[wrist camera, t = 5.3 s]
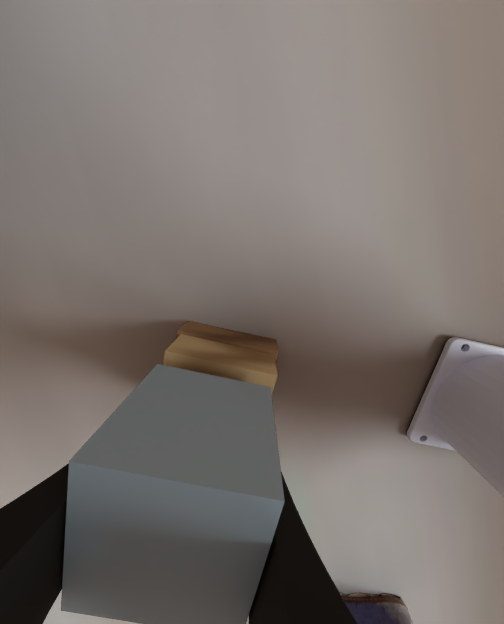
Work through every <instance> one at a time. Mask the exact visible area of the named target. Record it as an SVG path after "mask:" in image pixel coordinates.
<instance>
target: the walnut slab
mask: <svg viewBox="0 0 504 624" xmlns="http://www.w3.org/2000/svg"><path fill="white" fill-rule="evenodd" d="M180 334H184V335H188V336H193V337H197V338H202V339H206V340H211V341H215V342H220V343H224V344H229V345H233V346H237V347H242V348H246V349H251V350H255V351H260V352H264V353H269V354H273V355H274V359H275V364H276V362H277V358H278V354H279V350H278V346H277V342H276V340H275V339H270V338H266V337H261V336H256V335H252V334H247V333H243V332H238V331H233V330H229V329H224V328H219V327H215V326H210V325H205V324H201V323H196V322H191V321H187V322H186V323H185V324H184V325H183V326H182V327H180V328H179V329H178V331H177V337H176V339H177V338H178V337H179V336H180Z"/></svg>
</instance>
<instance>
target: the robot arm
mask: <svg viewBox="0 0 504 624" xmlns="http://www.w3.org/2000/svg"><path fill="white" fill-rule="evenodd" d="M463 345H464V347H463V348H462V349H461V347H462V346H463ZM421 436H422V437H421ZM407 437H408V438H409V439H410V440H411V441H412V442H415V443H420V444H425V445H430V446H435V447H440V448H445V449H450V450H455V451H457V452H458V453H459V454H460V455H461V456H462V457H463V458H464V459H465V460H466V461H467V462H468V463H469V464H470V465H471V466H472V467H473V468H474V469H475V470H476V471H477V472H478V473H479V474H480V475H481V476H483V477H484V478H485V479H486V480H487V481H488V482H489V483H490V484H491V485H492V486H493V487H494V488H495V489H496V490H497V491H498V492H499V493H500V494H501V495H502V496H503V497H504V348H503V347H499V346H494V345H490V344H485V343H481V342H476V341H472V340H467V339H463V338H458V337H453V338H450V339H449V340H448V341H447V342H446V344H445V347H444V349H443V351H442V354H441V356H440V358H439V360H438V363H437V365H436V367H435V370H434V372H433V374H432V376H431V379H430V381H429V383H428V386H427V388H426V390H425V392H424V395H423V397H422V399H421V402H420V404H419V406H418V408H417V411H416V413H415V415H414V417H413V420H412V422H411V424H410V427H409V429H408V431H407ZM68 471H69V464H67V465H66V466H64V467H63V468H62V469H60V470H59V471H57V472H56V473H55V474H53V475H52V476H50V477H49V478H47V479H46V480H44V481H43V482H41V483H40V484H38V485H37V486H35V487H34V488H32V489H30V490H29V491H27V492H26V493H24V494H23V495H21V496H20V497H18V498H17V499H15V500H14V501H12V502H10V503H9V504H7V505H6V506H4V507H2V508H1V509H0V624H43V622H44V620H45V618H46V616H47V614H48V612H49V610H50V609H51V607H52V605H53V603H54V602H55V600H56V598H57V596H58V595H59V593H60V591H61V589H62V581H63V563H64V545H65V526H66V508H67V490H68ZM281 476H282V484H283V492H284V500H285V502H284V505H283V508H282V511H281V515H280V518H279V521H278V524H277V527H276V530H275V534H274V537H273V540H272V543H271V546H270V549H269V552H268V556H267V559H266V562H265V565H264V568H263V571H262V574H261V578H260V581H259V584H258V587H257V590H256V593H255V596H254V600H253V603H252V606H251V609H250V612H249V624H358V623H357V622H356V620H355V618H354V617H353V615H352V613H351V612H350V610H349V608H348V606H347V605H346V603H345V601H344V600H343V598H342V596H341V595H340V593H339V591H338V589H337V588H336V586H335V584H334V582H333V581H332V579H331V577H330V575H329V573H328V572H327V570H326V568H325V566H324V564H323V562H322V560H321V559H320V557H319V555H318V553H317V551H316V549H315V547H314V545H313V543H312V541H311V539H310V537H309V535H308V533H307V531H306V528H305V526H304V524H303V522H302V520H301V518H300V515H299V513H298V511H297V509H296V506H295V504H294V502H293V500H292V497H291V495H290V492H289V490H288V487H287V485H286V483H285V480H284V477H283V475H282V472H281Z"/></svg>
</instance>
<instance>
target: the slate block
mask: <svg viewBox="0 0 504 624" xmlns="http://www.w3.org/2000/svg"><path fill="white" fill-rule="evenodd" d="M284 502H285V500H284V492H283V484H282V476H281V468H280V460H279V451H278V443H277V435H276V427H275V419H274V411H273V403H272V395H271V387H268V386H263V385H258V384H253V383H248V382H243V381H238V380H233V379H229V378H224V377H219V376H214V375H209V374H204V373H199V372H194V371H190V370H185V369H180V368H175V367H170V366H165V365H160V364H157V365H156V366H155V367H154V368H153V369H152V370H151V372H150V373H149V374H148V375H147V376H146V377H145V378H144V379H143V380H142V381H141V383H140V384H139V385H138V386H137V387H136V388H135V389H134V390H133V391H132V393H131V394H130V395H129V396H128V397H127V398H126V399H125V400H124V401H123V402H122V404H121V405H120V406H119V407H118V408H117V409H116V410H115V411H114V412H113V413H112V415H111V416H110V417H109V418H108V419H107V420H106V421H105V422H104V423H103V424H102V426H101V427H100V428H99V429H98V430H97V431H96V432H95V433H94V434H93V435H92V437H91V438H90V439H89V440H88V441H87V442H86V443H85V444H84V445H83V446H82V448H81V449H80V450H79V451H78V452H77V453H76V454H75V455H74V456H73V458H72V459H71V460H70V461H69V471H68V490H67V508H66V526H65V545H64V563H63V581H62V600H61V611H67V612H74V613H80V614H86V615H92V616H98V617H105V618H111V619H117V620H123V621H129V622H136V623H142V624H246V622H247V618H248V615H249V612H250V609H251V606H252V603H253V600H254V596H255V593H256V590H257V587H258V584H259V581H260V578H261V574H262V571H263V568H264V565H265V562H266V559H267V556H268V552H269V549H270V546H271V543H272V540H273V537H274V534H275V530H276V527H277V524H278V521H279V518H280V515H281V511H282V508H283V505H284Z"/></svg>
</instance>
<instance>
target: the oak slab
mask: <svg viewBox="0 0 504 624" xmlns="http://www.w3.org/2000/svg"><path fill="white" fill-rule="evenodd" d="M163 365H165V366H170V367H175V368H180V369H185V370H190V371H194V372H199V373H204V374H209V375H214V376H219V377H224V378H229V379H233V380H238V381H243V382H248V383H253V384H258V385H263V386H268V387H271V395H272V394H273V390H274V387H275V383H276V380H277V376H278V375H277V370H276V364H275V359H274V355H273V354H269V353H264V352H260V351H255V350H251V349H246V348H242V347H237V346H233V345H229V344H224V343H220V342H215V341H211V340H206V339H202V338H197V337H193V336H188V335H184V334H180V336H179V337H178V338H177V339H176V340H175V341H174V342H173V343H172V344H171V345H170V346H169V347H168V348H167V349H166V350H165V354H164V360H163Z"/></svg>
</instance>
